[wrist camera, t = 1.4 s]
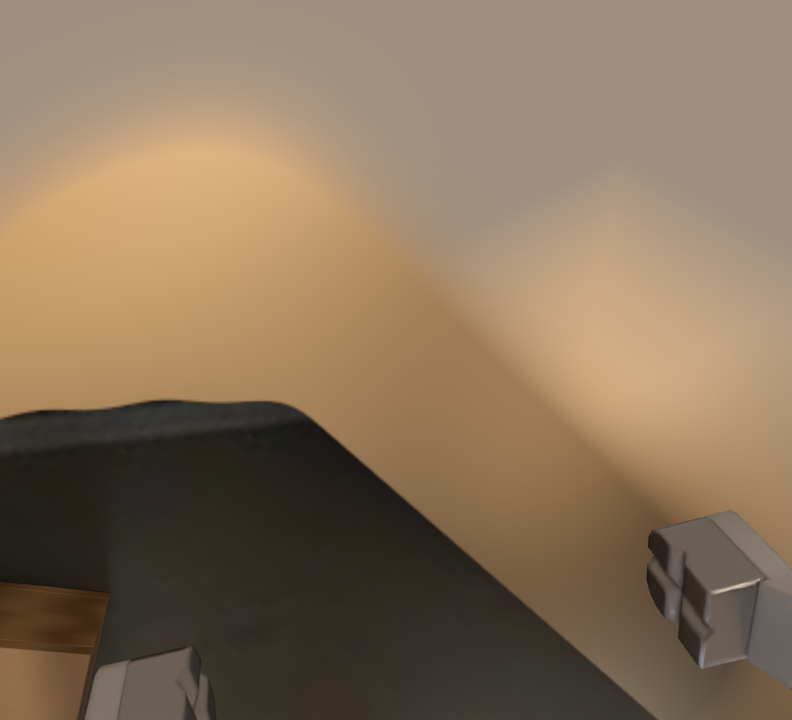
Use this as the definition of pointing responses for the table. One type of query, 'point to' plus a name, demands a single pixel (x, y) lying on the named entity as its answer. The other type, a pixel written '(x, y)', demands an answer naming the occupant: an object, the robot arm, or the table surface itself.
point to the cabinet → (48, 650)
